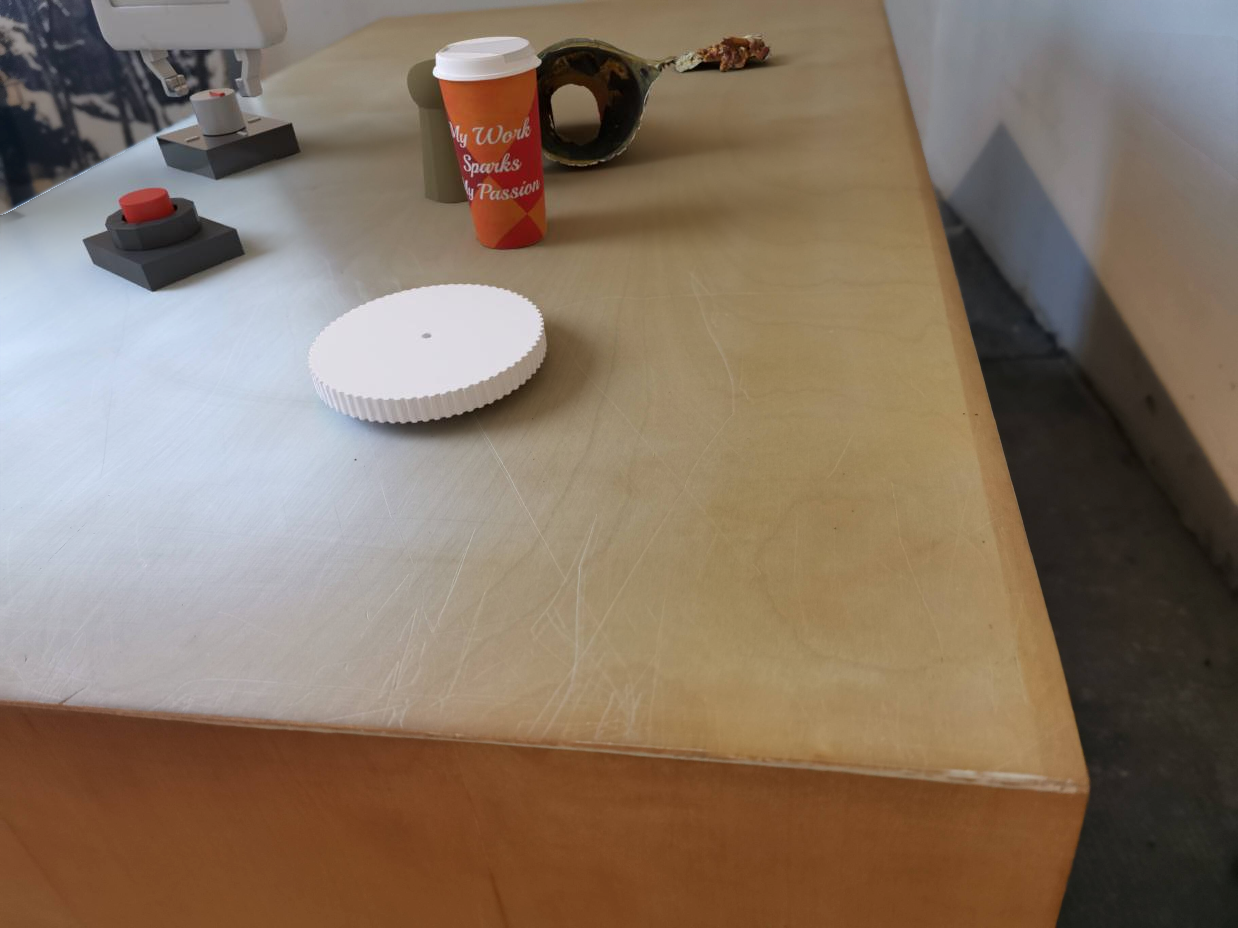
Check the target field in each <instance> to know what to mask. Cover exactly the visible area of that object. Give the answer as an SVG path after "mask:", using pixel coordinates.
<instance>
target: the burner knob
mask: <svg viewBox="0 0 1238 928" xmlns="http://www.w3.org/2000/svg"><path fill="white" fill-rule="evenodd" d="M189 101H190V104H191V107H192V110H193V113H194V115H195V117H196V121H197V123H198V124H199V126H200V129H201V132H202V134H204V135H223V134H228V133H232V132H236V131H238V130H241V129H242V128H244V127H245V122H244V119H243V115H242V112H243V111H242V110H241V109H242V108H241V107H240V103H239V100H238V98H237V94H236V91H235V89H233V88H228V87H226V88H224V87H222V88H213V89H207V90H202V91H199V92H196V93H193V94H191V95H190V96H189Z"/></svg>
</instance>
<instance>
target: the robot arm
mask: <svg viewBox="0 0 1238 928" xmlns="http://www.w3.org/2000/svg"><path fill="white" fill-rule="evenodd" d="M90 1H91V5H92V8H93V11H94V15H95V18H96V21H97V23H98V27H99V29H100V32H101V35H102V37H103V39H104V41H105V42H107V44H108V45H109V46H110V47H111V48H112V49H113V50H114V51H119V52H120V51H139V52H140V55H141V58H142V60H143V63H144V64H145V65H146V67H148V68H149V69H150V71H152V73H153V74H154V75H155V76H156V78H157V79H158V80H160V82H161V84H162V87H163V91H164V93H165V95H166V96H167V97H170V98H176V97H177V98H181V97H183V96H187V95H188V94H189V92H190V89H189V86H188V84H187V80H186V78H185V75H184V74H178V73H177V72H176V70H175V69H174V68H173V66H172V65H171V64H170V62H169V61H168V60H167V58H168V57H169V52H168V51H190V50H191V51H193V50H197V51H198V50H200V51H201V50H204V51H205V50H232V51H233V53H234V56H235V60H236V61H237V62H241V75H240V77H238V78H235V79H234V82H235V84H236V87H237V89H238V93H239V95H240V97H242V98H257V97H259V96H261V95H262V94H263V91H264V90H263V87H262V86H263V85H262V83H261V80H260V77H259V75H260V71H261V66H262V59H263V54H262V50H264V49H268V48H271V47H274V46H276V45H279V44H282V43H283V42H284V41H285V39H286V36H287V32H288V25H287V24H288V23H287V20H286V16H285V12H284V9H283V4H282V2H281V0H90Z"/></svg>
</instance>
